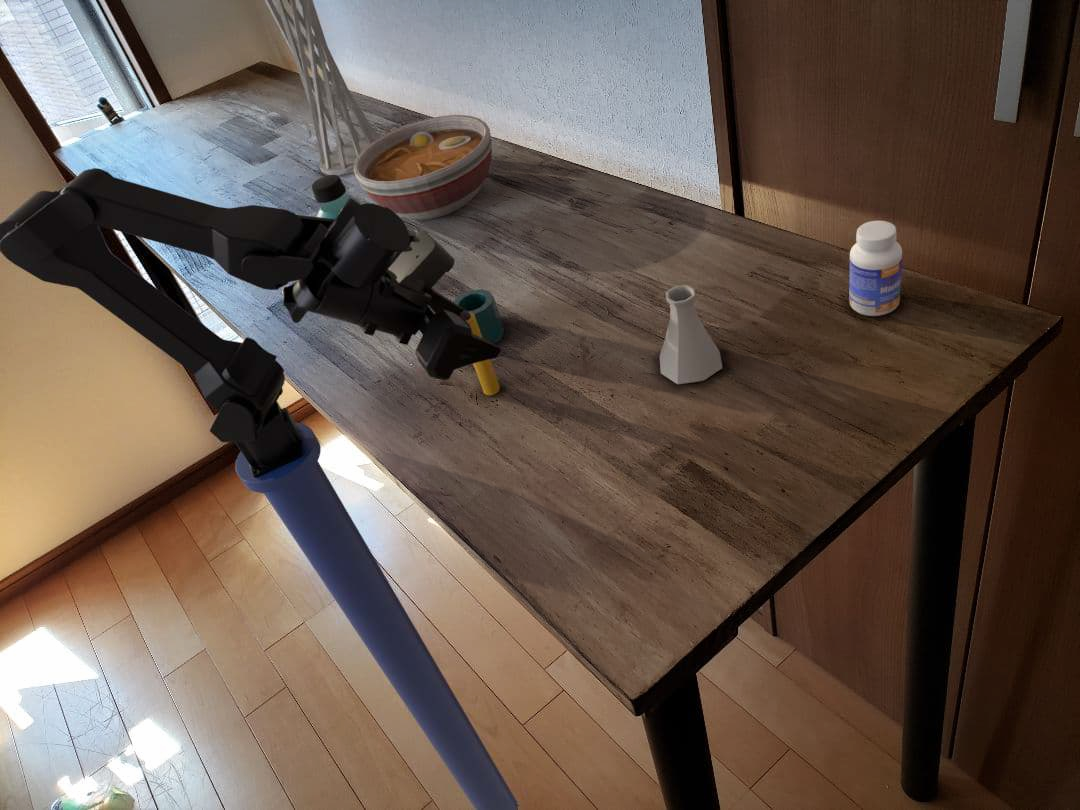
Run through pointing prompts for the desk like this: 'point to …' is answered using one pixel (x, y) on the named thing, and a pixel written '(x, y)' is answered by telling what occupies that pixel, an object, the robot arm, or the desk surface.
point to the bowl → (427, 166)
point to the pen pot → (483, 313)
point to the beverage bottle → (330, 196)
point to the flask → (687, 341)
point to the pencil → (483, 367)
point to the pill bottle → (875, 269)
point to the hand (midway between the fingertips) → (482, 333)
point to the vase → (323, 87)
